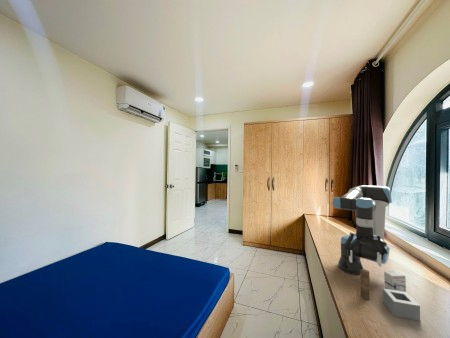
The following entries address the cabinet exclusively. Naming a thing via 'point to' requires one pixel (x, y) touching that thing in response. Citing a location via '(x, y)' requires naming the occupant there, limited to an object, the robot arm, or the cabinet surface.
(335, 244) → the cabinet surface
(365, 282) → the walnut dowel
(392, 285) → the ink box
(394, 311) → the socket block
